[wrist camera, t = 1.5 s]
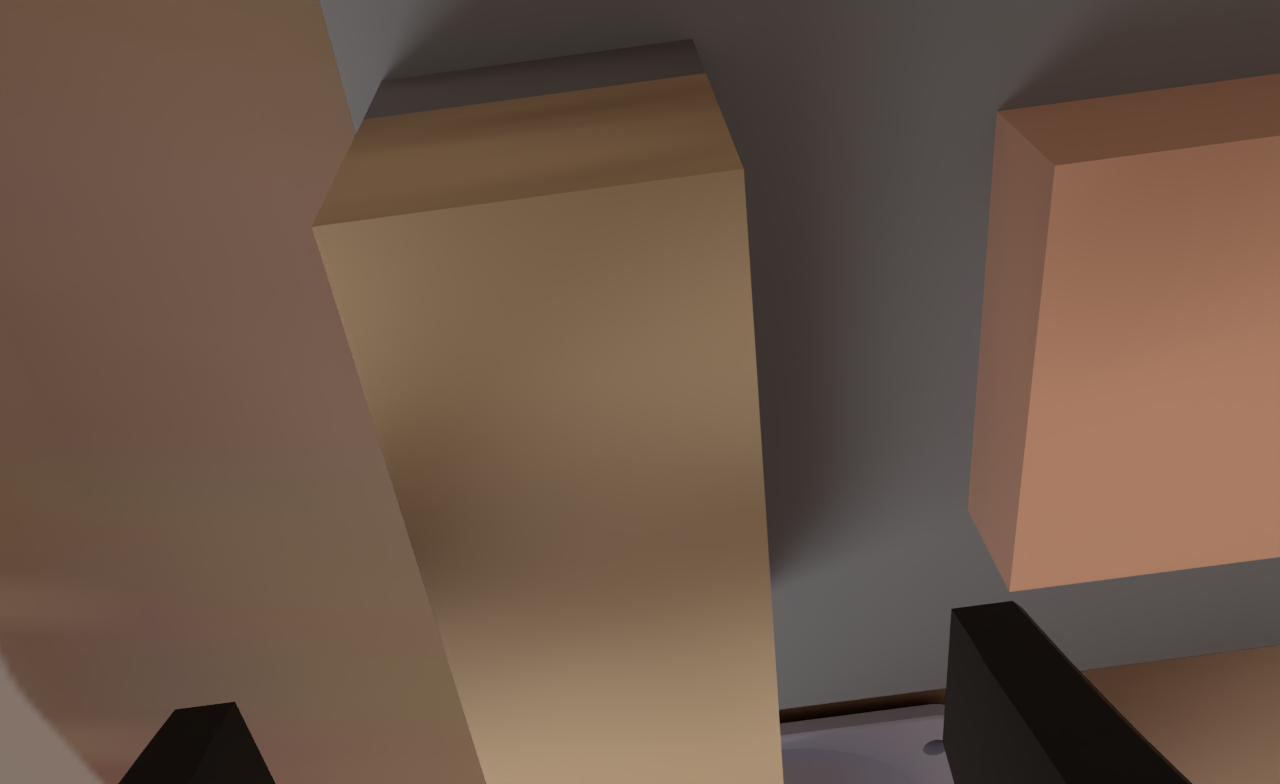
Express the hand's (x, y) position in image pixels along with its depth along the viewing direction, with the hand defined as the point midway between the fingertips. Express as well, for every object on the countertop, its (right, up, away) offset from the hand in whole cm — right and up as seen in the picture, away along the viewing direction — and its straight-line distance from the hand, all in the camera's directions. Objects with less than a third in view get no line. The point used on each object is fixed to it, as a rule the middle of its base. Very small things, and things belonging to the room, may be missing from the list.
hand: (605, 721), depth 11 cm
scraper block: (0, +3, +5) cm, 6 cm away
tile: (+9, +5, +5) cm, 11 cm away
